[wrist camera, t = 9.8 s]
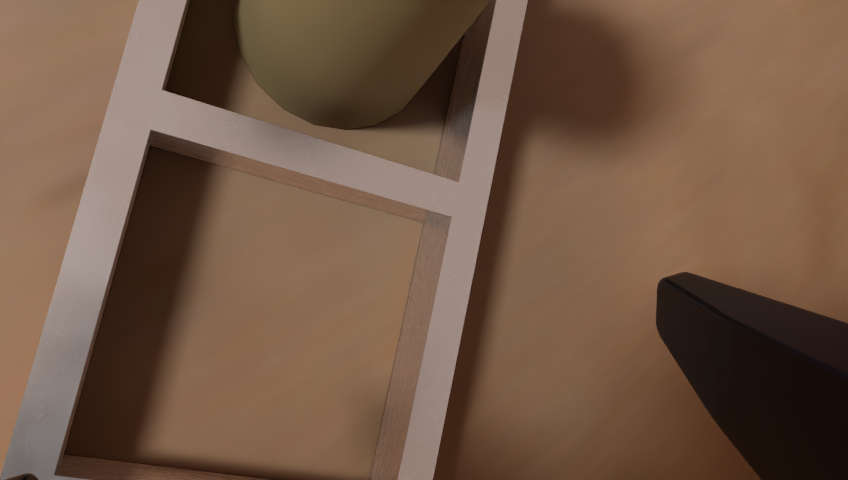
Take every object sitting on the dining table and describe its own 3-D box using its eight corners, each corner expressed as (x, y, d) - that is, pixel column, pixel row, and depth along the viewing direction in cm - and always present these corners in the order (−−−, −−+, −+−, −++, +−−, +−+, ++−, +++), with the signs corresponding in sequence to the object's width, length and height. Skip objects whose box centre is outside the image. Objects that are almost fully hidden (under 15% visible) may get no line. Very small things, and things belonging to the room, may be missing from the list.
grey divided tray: (391, 530, 20) (417, 555, 18) (6, 491, 16) (-12, 518, 14) (512, -61, 23) (545, -91, 21) (207, -205, 19) (213, -258, 17)
